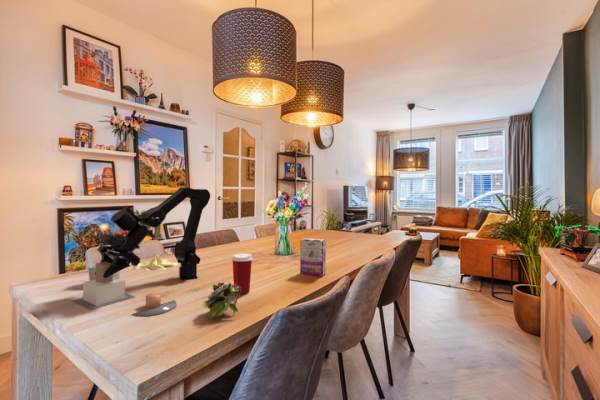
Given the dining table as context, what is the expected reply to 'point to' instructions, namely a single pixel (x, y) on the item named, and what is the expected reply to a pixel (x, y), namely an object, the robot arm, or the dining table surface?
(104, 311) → the dining table surface
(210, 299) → the green leafy cluster
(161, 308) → the grey disc
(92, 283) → the white brown stepped block
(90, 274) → the teacup
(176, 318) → the dining table surface
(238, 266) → the paper cup
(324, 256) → the candy bar box
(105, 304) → the mat
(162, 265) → the cloth
